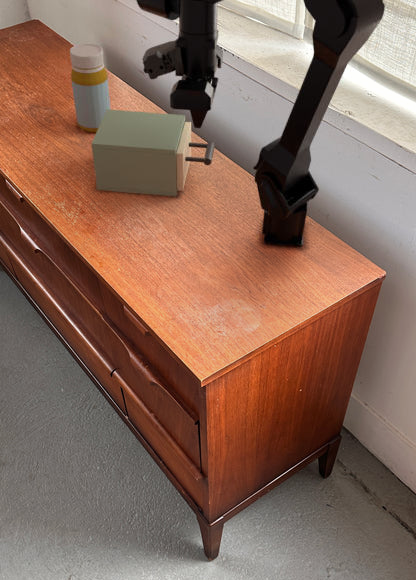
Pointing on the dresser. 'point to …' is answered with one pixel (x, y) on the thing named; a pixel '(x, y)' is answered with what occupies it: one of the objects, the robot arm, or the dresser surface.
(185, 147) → the drawer
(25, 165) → the dresser surface
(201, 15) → the robot arm
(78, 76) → the bottle
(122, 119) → the cabinet
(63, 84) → the dresser surface
